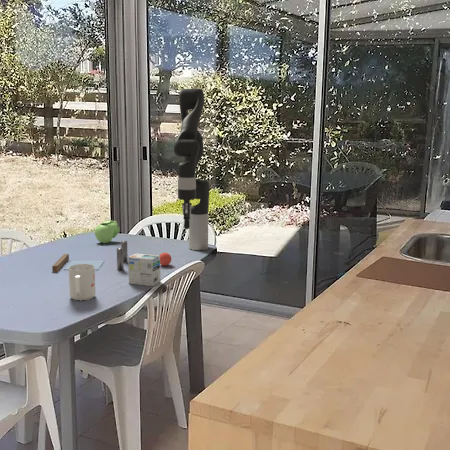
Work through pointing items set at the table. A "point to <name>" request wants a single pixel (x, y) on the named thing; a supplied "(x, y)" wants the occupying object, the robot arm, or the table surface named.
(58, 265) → the stopper wall
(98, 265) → the light blue tilted panel
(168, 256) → the ball
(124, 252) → the far post
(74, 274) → the mug
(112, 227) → the green rounded piece
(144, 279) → the light bulb box
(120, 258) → the near post
